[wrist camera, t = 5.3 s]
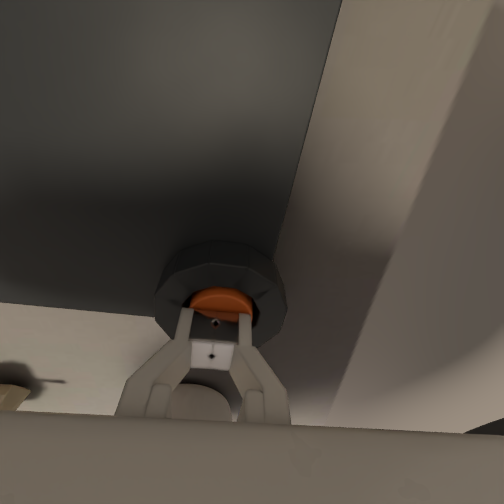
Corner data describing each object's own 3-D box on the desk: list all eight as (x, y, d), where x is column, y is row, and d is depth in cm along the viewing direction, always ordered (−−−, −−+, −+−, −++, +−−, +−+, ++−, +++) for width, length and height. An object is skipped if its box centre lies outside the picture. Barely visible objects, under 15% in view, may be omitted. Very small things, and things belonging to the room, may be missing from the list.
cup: (213, 439, 27) (203, 562, 21) (127, 427, 25) (88, 558, 19) (255, 382, 21) (259, 529, 15) (147, 362, 20) (99, 519, 13)
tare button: (256, 274, 13) (258, 299, 12) (247, 315, 15) (247, 341, 13) (194, 267, 13) (188, 292, 11) (191, 310, 14) (186, 336, 13)
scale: (376, -57, 8) (433, -100, 6) (267, 313, 17) (270, 358, 14) (-203, -209, 6) (-478, -364, 4) (14, 287, 15) (-30, 333, 13)
